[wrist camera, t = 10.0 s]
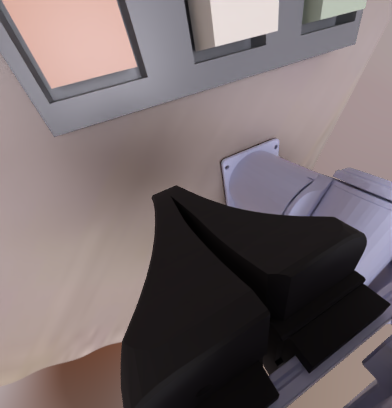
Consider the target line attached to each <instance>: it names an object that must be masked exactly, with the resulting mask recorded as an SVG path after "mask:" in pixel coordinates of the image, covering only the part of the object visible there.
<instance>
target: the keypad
mask: <svg viewBox="0 0 392 408" xmlns="http://www.w3.org/2000/svg"><path fill="white" fill-rule="evenodd" d="M117 3H118V7H119V10H120V13H121V16H122V19H123V22H124V26H125V29H126V32H127V35H128V38H129V41H130V45H131V48H132V51H133V54H134V57H135V61H136V64H137V67H135V68H131V69H127V70H123V71H119V72H115V73H111V74H107V75H103V76H99V77H95V78H92V79H88V80H84V81H80V82H76V83H72V84H68V85H64V86H60V87H56V88H51V87H50V85H49V83H48V81H47V80H46V78H45V76H44V74H43V73H42V71H41V69H40V67H39V66H38V64H37V62H36V60H35V58H34V57H33V55H32V53H31V51H30V50H29V48H28V46H27V44H26V43H25V41H24V39H23V37H22V35H21V34H20V32H19V30H18V28H17V27H16V25H15V23H14V21H13V20H12V18H11V16H10V14H9V12H8V11H7V9H6V7H5V5H4V4H3V2H2V0H0V53H1V55H2V56H3V58H4V59H5V61H6V62H7V64H8V65H9V67H10V69H11V70H12V72H13V73H14V75H15V76H16V78H17V80H18V81H19V83H20V84H21V86H22V87H23V89H24V90H25V92H26V94H27V95H28V97H29V98H30V100H31V101H32V103H33V104H34V106H35V108H36V109H37V111H38V112H39V114H40V115H41V117H42V118H43V120H44V122H45V123H46V125H47V126H48V128H49V129H50V131H51V132H52V134H53V136H54V137H56V136H59V135H62V134H65V133H68V132H72V131H75V130H78V129H81V128H85V127H88V126H91V125H94V124H98V123H101V122H104V121H107V120H111V119H114V118H117V117H120V116H124V115H127V114H130V113H133V112H137V111H140V110H143V109H146V108H149V107H153V106H156V105H159V104H162V103H166V102H169V101H172V100H175V99H179V98H182V97H185V96H188V95H192V94H195V93H198V92H201V91H205V90H208V89H211V88H214V87H218V86H221V85H224V84H227V83H230V82H234V81H237V80H240V79H243V78H247V77H250V76H253V75H256V74H260V73H263V72H266V71H269V70H273V69H276V68H279V67H282V66H286V65H289V64H292V63H295V62H299V61H302V60H305V59H308V58H311V57H315V56H318V55H321V54H324V53H328V52H331V51H334V50H337V49H341V48H344V47H347V46H350V45H354V44H355V43H356V39H357V35H358V30H359V26H360V21H361V17H362V13H363V9H361V10H357V11H353V12H349V13H346V14H342V15H338V16H334V17H330V18H326V19H322V20H318V21H314V22H310V23H306V24H302V17H303V7H304V0H279V15H278V31H275V32H271V33H268V34H264V35H260V36H256V37H252V38H248V39H244V40H240V41H236V42H232V43H229V44H225V45H221V46H217V47H213V48H209V49H205V50H201V51H197V52H196V50H195V44H194V38H193V32H192V25H191V19H190V13H189V7H188V0H117Z"/></svg>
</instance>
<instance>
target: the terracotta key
mask: <svg viewBox="0 0 392 408" xmlns="http://www.w3.org/2000/svg"><path fill="white" fill-rule="evenodd" d="M2 2H3V4H4V5H5V7H6V9H7V11H8V12H9V14H10V16H11V18H12V20H13V21H14V23H15V25H16V27H17V28H18V30H19V32H20V34H21V35H22V37H23V39H24V41H25V43H26V44H27V46H28V48H29V50H30V51H31V53H32V55H33V57H34V58H35V60H36V62H37V64H38V66H39V67H40V69H41V71H42V73H43V74H44V76H45V78H46V80H47V81H48V83H49V85H50V87H51V88H56V87H60V86H64V85H68V84H72V83H76V82H80V81H84V80H88V79H92V78H95V77H99V76H103V75H107V74H111V73H115V72H119V71H123V70H127V69H131V68H135V67H137V64H136V61H135V57H134V54H133V51H132V48H131V45H130V41H129V38H128V35H127V32H126V29H125V26H124V22H123V19H122V16H121V13H120V10H119V7H118V3H117V0H2Z"/></svg>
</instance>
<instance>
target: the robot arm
mask: <svg viewBox="0 0 392 408" xmlns="http://www.w3.org/2000/svg"><path fill="white" fill-rule="evenodd" d="M274 147H275V148H274ZM278 153H279V140H278V139H276V138H274V139H272V140H269V141H267V142H264V143H262V144H259V145H257V146H254V147H252V148H250V149H247V150H245V151H242V152H240V153H237V154H235V155H232V156H230V157H227V158H225V159H223V160H222V162H221V166H222V173H223V181H224V188H225V196H226V203H227V205H223V204H220V203H217V202H214V201H211V200H208V199H206V198H203V197H201V196H198V195H196V194H194V193H192V192H189V191H187V190H185V189H183V188H181V187H179V186H174V187H171V188H169V189H167V190H164V191H162V192H160V193H157V194H155V195H153V196H152V200H153V203H154V208H155V236H154V245H153V251H152V256H151V261H150V265H149V269H148V273H147V277H146V280H145V283H144V286H143V289H142V292H141V295H140V298H139V301H138V304H137V307H136V309H135V312H134V314H133V316H132V319H131V321H130V324H129V326H128V329H127V331H126V333H125V336H124V338H123V341H122V350H121V391H122V398H123V399H122V400H123V407H124V408H287V407H288V406H289V405H290V404H291V403H293V402H294V401H295V400H296V399H297V398H298V397H300V396H301V395H302V394H303V393H304V392H306V391H307V390H308V389H309V388H310V387H312V386H313V385H314V384H315V383H316V382H318V381H319V380H320V379H321V378H322V377H324V376H325V375H326V374H327V373H328V372H329V371H331V370H332V369H333V368H334V367H335V366H337V365H338V364H339V363H340V362H341V361H343V360H344V359H345V358H346V357H347V356H348V355H350V354H351V353H352V352H353V351H354V350H356V349H357V348H358V347H359V346H360V345H362V344H363V343H364V342H365V341H366V340H367V339H369V338H370V337H371V336H372V335H373V334H375V332H377V331H378V330H379V329H381V328H382V327H383V326H384V325H385V324H392V182H391V181H388V180H386V179H383V178H380V177H377V176H374V175H371V174H368V173H365V172H362V171H359V170H356V169H353V168H345V169H342V170H337V171H336V172H335V174H334V175H333V176H334V177H336V178H338V179H340V180H343V181H345V182H343V181H340V180H337V179H334V178H332V177H329V176H326V175H323V174H320V173H317V172H315V171H312V170H310V169H307V168H305V167H303V166H300V165H298V164H295V163H293V162H291V161H288V160H286V159H283V158H281V157H279V156H278ZM226 166H227V168H225V167H226ZM362 363H363V365H364V367H365V368H366V369H367V370H368V371H369V372H370V373H371V374H372V375H373V376H374V377H375V378H376V379H375V380H374V381H373V382H372V383H371V384H369V385H368V386H367V387H366V388H365V389H364V390H363V391H362V392H360V393H359V394H358V395H357V396H356V397H355V398H353V399H352V400H351V401H350V402H349V403H348V404H347V405H346V406H344V407H343V408H392V335H391V336H390V337H388V338H387V339H386V340H385V341H384V342H383V343H382V344H381V345H380V346H378V347H377V348H376V349H375V350H374V351H373V352H372V353H371V354H370V355H368V356H367V358H365V359H364V360H363V361H362ZM263 365H264V367H265V369H266V370H267V372H268V373H269V376H268V375H267V373H266V371H265V370H264V368H263Z"/></svg>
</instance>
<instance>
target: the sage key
mask: <svg viewBox="0 0 392 408" xmlns="http://www.w3.org/2000/svg"><path fill="white" fill-rule="evenodd" d="M366 2H367V0H304V7H303V17H302V24H306V23H310V22H314V21H318V20H322V19H326V18H330V17H334V16H338V15H342V14H346V13H349V12H353V11H357V10H361V9H365V6H366Z"/></svg>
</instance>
